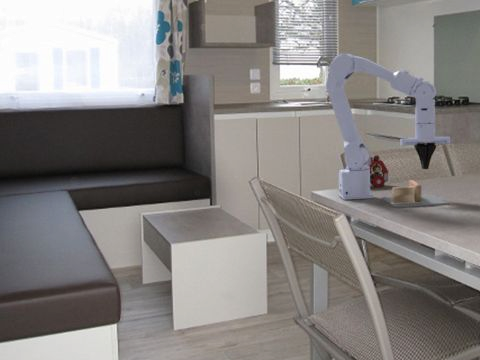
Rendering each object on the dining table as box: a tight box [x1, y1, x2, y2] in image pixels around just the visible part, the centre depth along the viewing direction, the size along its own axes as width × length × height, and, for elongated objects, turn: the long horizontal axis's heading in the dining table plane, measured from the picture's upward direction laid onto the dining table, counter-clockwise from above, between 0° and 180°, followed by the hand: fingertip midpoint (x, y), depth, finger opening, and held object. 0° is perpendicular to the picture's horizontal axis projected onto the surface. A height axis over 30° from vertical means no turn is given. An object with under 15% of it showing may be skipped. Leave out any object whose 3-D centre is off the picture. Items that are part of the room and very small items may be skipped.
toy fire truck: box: [367, 155, 389, 189], centre depth 237 cm, size 7×12×10 cm, turn 91°
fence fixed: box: [391, 184, 422, 203], centre depth 205 cm, size 8×2×5 cm, turn 93°
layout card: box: [381, 193, 451, 208], centre depth 209 cm, size 16×14×1 cm
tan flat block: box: [408, 179, 420, 187], centre depth 210 cm, size 8×1×4 cm, turn 178°
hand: (425, 168), depth 211 cm, fingers closed
